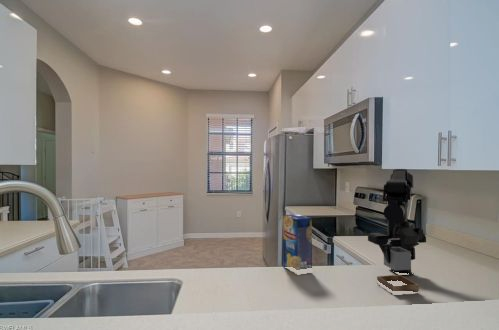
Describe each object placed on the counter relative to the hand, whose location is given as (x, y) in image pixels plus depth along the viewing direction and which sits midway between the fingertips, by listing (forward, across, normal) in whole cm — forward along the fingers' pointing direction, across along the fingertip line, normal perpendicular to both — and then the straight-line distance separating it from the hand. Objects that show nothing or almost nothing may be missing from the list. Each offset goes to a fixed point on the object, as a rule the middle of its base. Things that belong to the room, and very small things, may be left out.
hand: (396, 262), depth 100 cm
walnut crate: (+9, 0, 0) cm, 9 cm away
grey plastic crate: (+2, 0, 0) cm, 2 cm away
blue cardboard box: (+9, -28, +24) cm, 38 cm away
